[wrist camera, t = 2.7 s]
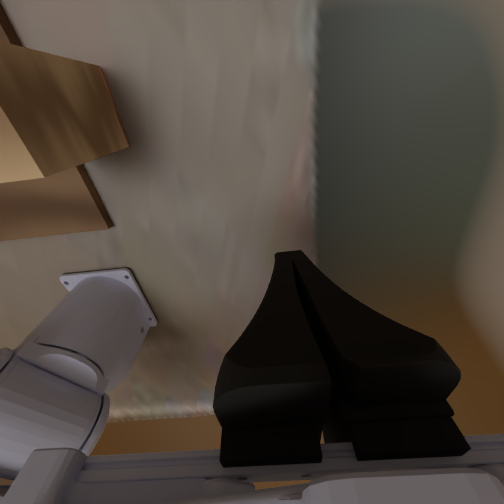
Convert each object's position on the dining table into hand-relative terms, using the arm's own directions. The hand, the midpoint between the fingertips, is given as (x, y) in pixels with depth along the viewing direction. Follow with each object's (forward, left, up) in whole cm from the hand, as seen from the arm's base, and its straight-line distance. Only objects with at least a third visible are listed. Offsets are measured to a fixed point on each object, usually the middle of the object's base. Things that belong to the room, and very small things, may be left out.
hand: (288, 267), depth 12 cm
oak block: (+8, +13, -10) cm, 18 cm away
